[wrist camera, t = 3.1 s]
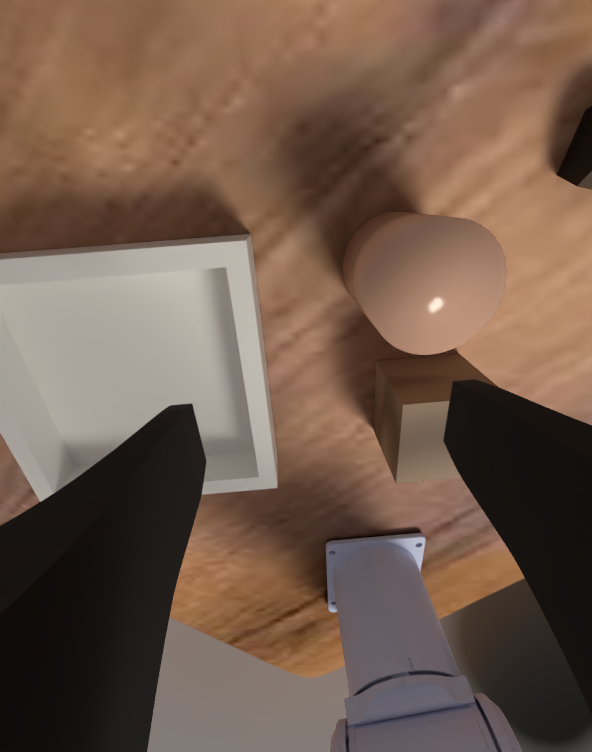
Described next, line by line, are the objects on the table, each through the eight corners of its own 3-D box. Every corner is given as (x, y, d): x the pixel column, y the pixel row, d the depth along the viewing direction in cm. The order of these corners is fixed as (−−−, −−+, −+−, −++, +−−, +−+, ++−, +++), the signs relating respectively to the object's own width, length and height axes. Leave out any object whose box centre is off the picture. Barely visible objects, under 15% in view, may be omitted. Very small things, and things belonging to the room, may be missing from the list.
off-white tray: (277, 454, 23) (277, 488, 21) (71, 472, 23) (44, 508, 20) (251, 233, 17) (246, 240, 14) (-37, 255, 17) (-96, 267, 14)
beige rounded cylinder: (431, 307, 19) (491, 349, 14) (342, 314, 19) (367, 359, 14) (443, 207, 17) (521, 211, 11) (341, 215, 17) (372, 223, 11)
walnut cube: (446, 421, 23) (488, 475, 18) (372, 427, 23) (395, 483, 18) (458, 353, 21) (508, 395, 16) (375, 360, 20) (402, 404, 16)
